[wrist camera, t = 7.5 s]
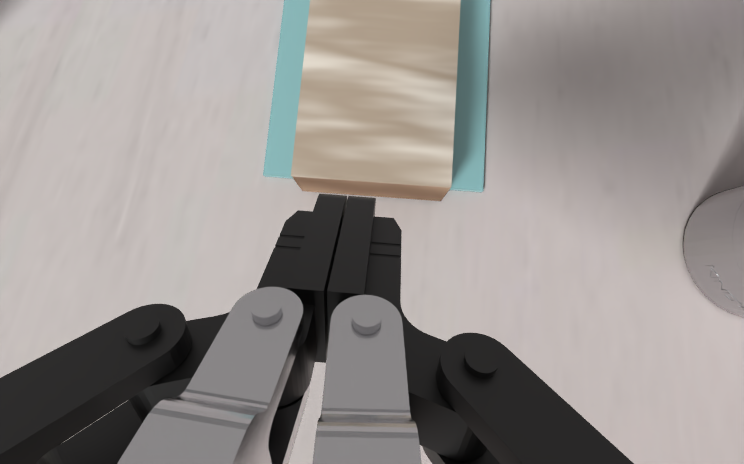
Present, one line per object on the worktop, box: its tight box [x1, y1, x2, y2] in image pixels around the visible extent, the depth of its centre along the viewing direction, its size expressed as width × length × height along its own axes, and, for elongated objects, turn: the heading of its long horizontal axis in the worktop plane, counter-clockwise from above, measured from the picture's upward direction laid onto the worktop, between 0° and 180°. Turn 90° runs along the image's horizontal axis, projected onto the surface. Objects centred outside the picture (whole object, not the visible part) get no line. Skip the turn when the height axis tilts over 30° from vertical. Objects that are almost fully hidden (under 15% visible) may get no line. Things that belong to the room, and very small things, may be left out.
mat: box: [263, 0, 490, 192], centre depth 30 cm, size 22×16×1 cm
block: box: [291, 0, 461, 201], centre depth 27 cm, size 4×10×16 cm
